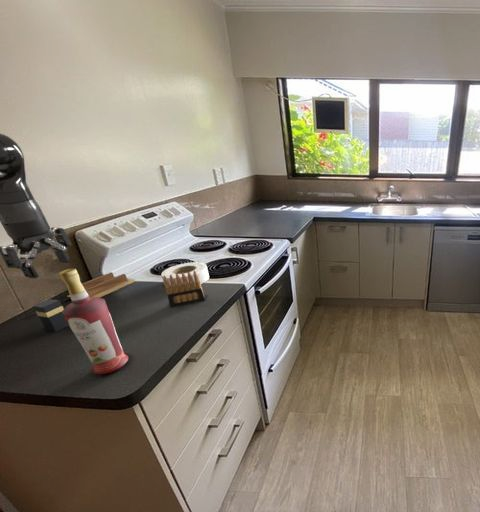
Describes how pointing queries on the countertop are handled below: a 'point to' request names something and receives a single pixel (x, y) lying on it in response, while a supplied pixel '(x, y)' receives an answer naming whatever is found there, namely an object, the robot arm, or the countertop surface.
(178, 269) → the tape roll
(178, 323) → the countertop surface
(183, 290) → the ammunition clip
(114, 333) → the liquor
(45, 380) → the countertop surface
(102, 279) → the rack
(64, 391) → the countertop surface
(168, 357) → the countertop surface
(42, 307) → the dark box with band
